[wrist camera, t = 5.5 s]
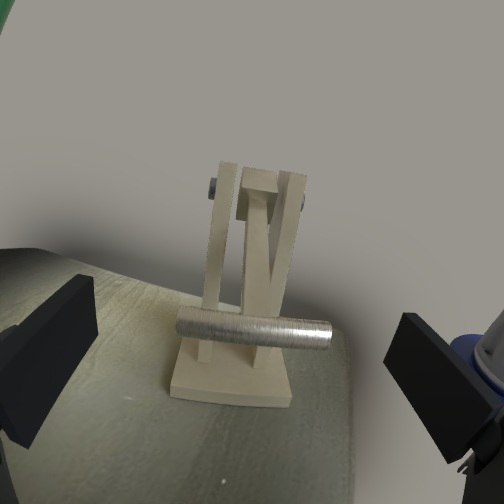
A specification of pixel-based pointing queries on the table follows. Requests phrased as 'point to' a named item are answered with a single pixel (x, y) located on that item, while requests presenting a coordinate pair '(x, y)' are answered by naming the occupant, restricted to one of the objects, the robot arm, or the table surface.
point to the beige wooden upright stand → (211, 352)
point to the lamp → (5, 11)
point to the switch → (254, 285)
